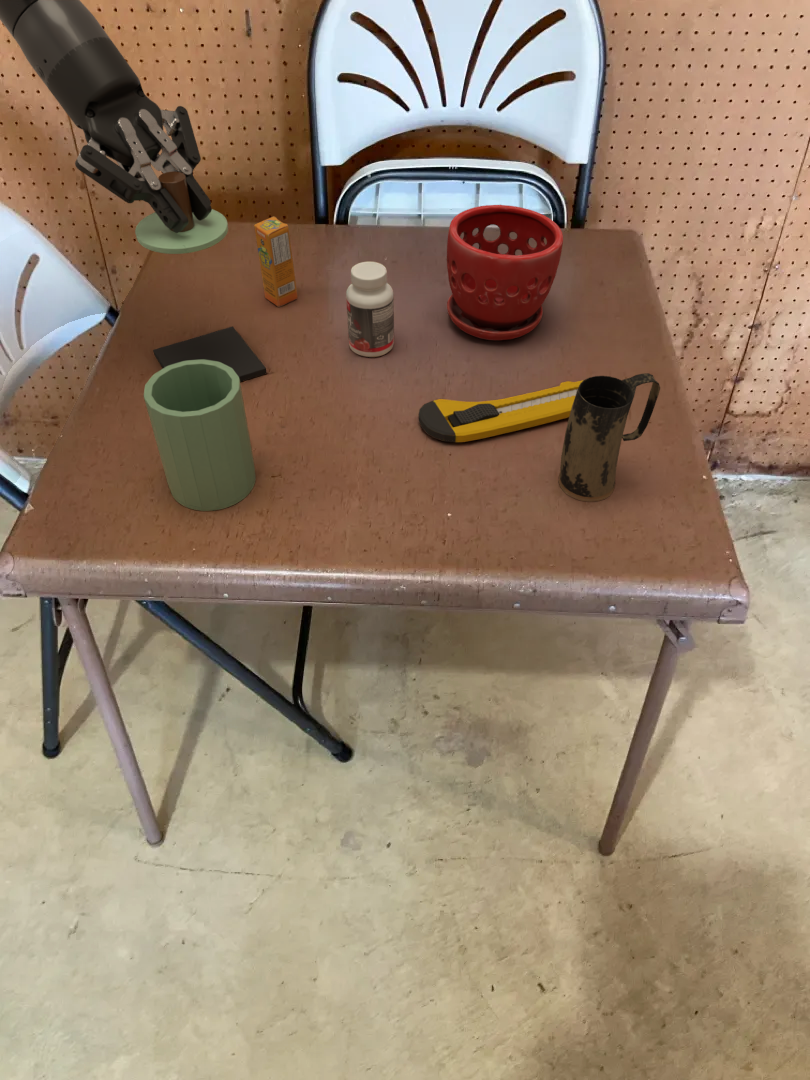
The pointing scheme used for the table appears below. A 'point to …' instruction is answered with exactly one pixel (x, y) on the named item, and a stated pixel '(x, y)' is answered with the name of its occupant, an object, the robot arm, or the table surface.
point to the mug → (600, 434)
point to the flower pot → (500, 271)
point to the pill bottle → (370, 310)
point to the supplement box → (276, 261)
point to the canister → (201, 433)
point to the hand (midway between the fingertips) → (194, 220)
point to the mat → (215, 352)
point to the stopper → (192, 236)
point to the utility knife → (496, 414)
